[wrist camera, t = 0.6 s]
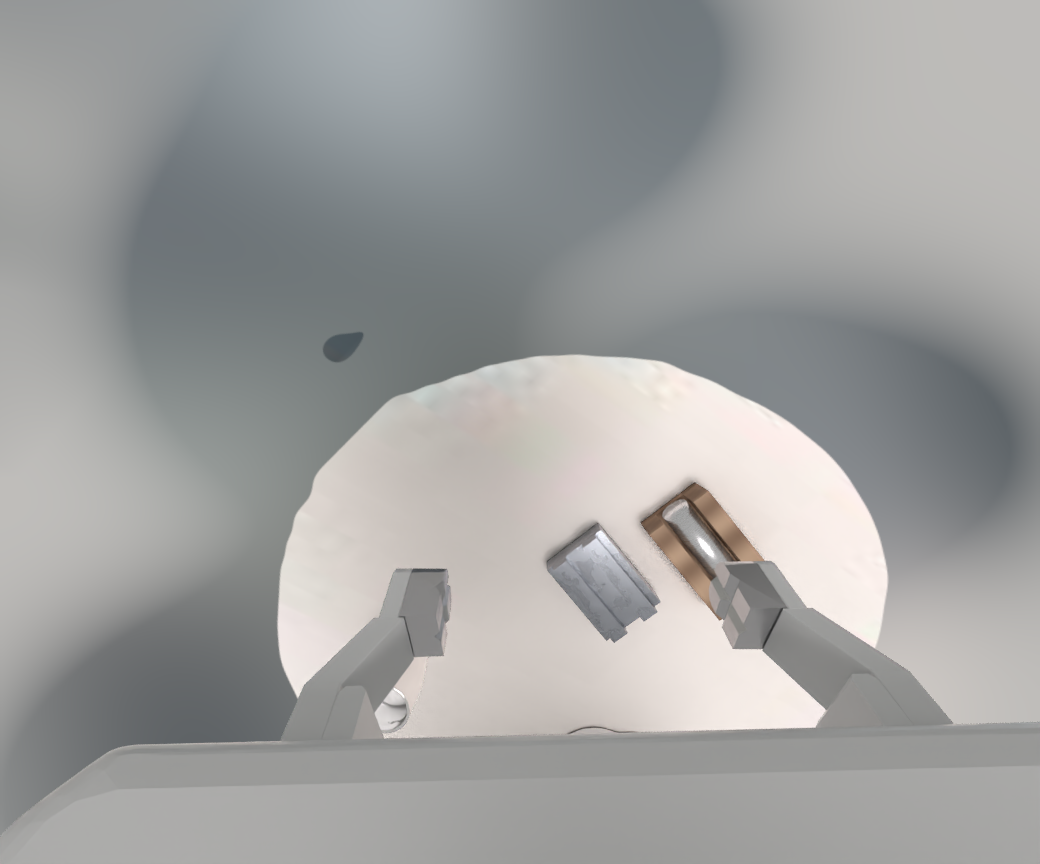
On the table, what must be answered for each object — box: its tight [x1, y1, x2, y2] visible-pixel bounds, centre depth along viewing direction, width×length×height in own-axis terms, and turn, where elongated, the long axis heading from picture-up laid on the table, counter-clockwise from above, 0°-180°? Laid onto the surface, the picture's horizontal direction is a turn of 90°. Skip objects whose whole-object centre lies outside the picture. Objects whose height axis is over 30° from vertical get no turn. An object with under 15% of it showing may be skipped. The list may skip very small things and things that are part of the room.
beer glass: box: [375, 657, 429, 733], centre depth 57 cm, size 7×7×15 cm
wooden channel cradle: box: [641, 483, 764, 621], centre depth 58 cm, size 16×10×5 cm, turn 40°
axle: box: [662, 499, 735, 579], centre depth 57 cm, size 16×4×4 cm, turn 40°
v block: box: [547, 523, 660, 643], centre depth 60 cm, size 14×10×4 cm
